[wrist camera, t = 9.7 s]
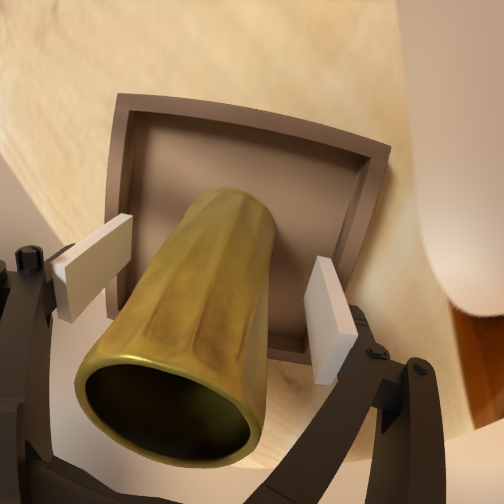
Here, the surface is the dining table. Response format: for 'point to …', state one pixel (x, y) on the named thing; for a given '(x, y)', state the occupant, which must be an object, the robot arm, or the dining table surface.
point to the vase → (190, 342)
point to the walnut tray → (248, 180)
